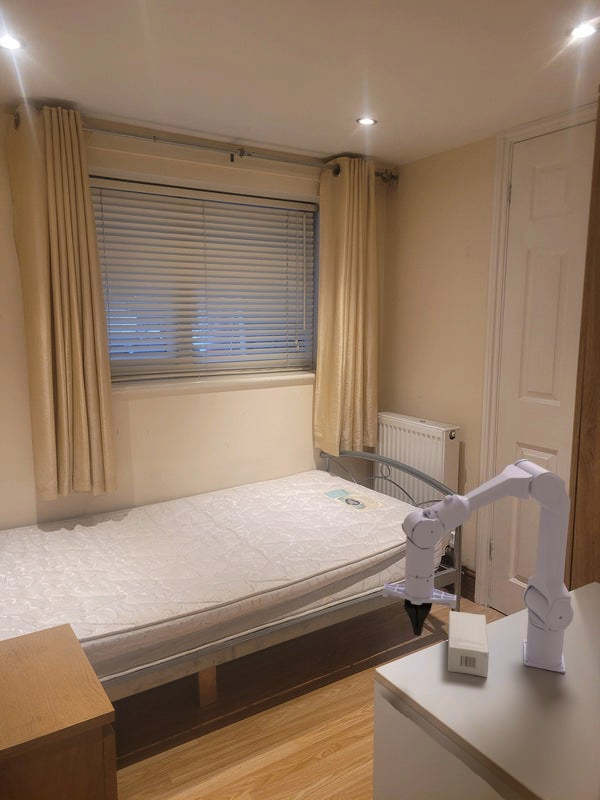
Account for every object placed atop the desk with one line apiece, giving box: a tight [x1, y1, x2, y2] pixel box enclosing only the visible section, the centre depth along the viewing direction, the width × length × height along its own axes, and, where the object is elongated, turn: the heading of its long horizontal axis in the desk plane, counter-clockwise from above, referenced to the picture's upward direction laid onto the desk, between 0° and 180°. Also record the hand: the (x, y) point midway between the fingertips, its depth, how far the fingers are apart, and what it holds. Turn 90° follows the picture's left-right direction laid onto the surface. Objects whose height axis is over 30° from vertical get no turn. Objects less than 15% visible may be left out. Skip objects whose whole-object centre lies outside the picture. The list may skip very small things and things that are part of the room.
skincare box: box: [447, 610, 490, 678], centre depth 127 cm, size 8×6×15 cm
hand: (417, 632), depth 119 cm, fingers closed
